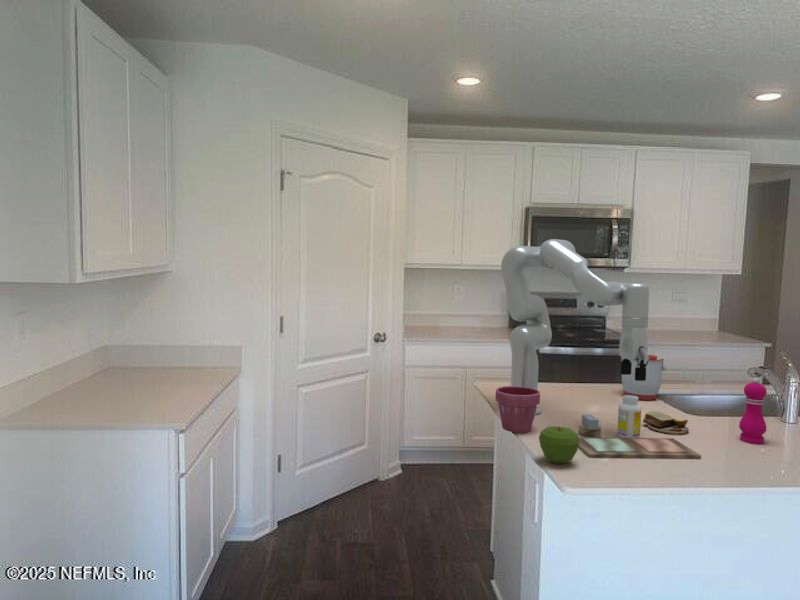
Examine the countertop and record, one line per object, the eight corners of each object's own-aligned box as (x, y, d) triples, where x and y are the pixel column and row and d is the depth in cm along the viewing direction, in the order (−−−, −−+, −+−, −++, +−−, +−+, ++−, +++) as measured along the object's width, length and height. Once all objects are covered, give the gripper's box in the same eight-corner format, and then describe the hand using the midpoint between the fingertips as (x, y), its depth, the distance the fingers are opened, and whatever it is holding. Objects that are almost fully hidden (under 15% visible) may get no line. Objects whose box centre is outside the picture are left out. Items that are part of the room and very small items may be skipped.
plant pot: (501, 420, 193) (502, 383, 192) (542, 426, 187) (544, 388, 186) (489, 431, 180) (490, 391, 179) (533, 438, 174) (534, 397, 173)
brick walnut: (581, 437, 177) (582, 427, 176) (578, 434, 180) (578, 425, 179) (600, 437, 177) (601, 428, 177) (596, 434, 180) (597, 425, 180)
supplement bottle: (639, 435, 180) (641, 395, 179) (640, 441, 173) (642, 400, 173) (616, 432, 182) (618, 393, 181) (617, 438, 176) (619, 397, 175)
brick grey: (598, 429, 175) (598, 420, 175) (588, 429, 175) (589, 419, 175) (590, 423, 181) (591, 414, 181) (581, 423, 181) (582, 414, 181)
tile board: (589, 457, 157) (589, 453, 157) (570, 440, 172) (571, 436, 172) (700, 458, 159) (701, 454, 159) (673, 441, 174) (673, 437, 174)
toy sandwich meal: (668, 437, 179) (669, 422, 178) (636, 425, 191) (637, 411, 191) (697, 434, 183) (698, 419, 183) (664, 422, 196) (665, 409, 195)
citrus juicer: (672, 402, 223) (675, 352, 222) (628, 401, 223) (631, 351, 222) (655, 393, 239) (657, 346, 237) (614, 392, 239) (616, 345, 238)
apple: (554, 471, 147) (556, 433, 146) (529, 458, 156) (531, 422, 155) (587, 466, 151) (588, 429, 150) (561, 453, 160) (562, 419, 160)
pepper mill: (756, 445, 171) (761, 381, 170) (733, 439, 178) (737, 376, 176) (770, 442, 175) (774, 379, 173) (747, 436, 181) (751, 374, 180)
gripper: (611, 320, 184) (609, 372, 185) (635, 325, 166) (633, 383, 167) (634, 320, 184) (632, 372, 185) (660, 326, 167) (658, 383, 168)
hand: (632, 377), depth 176 cm, fingers open, 9 cm apart
